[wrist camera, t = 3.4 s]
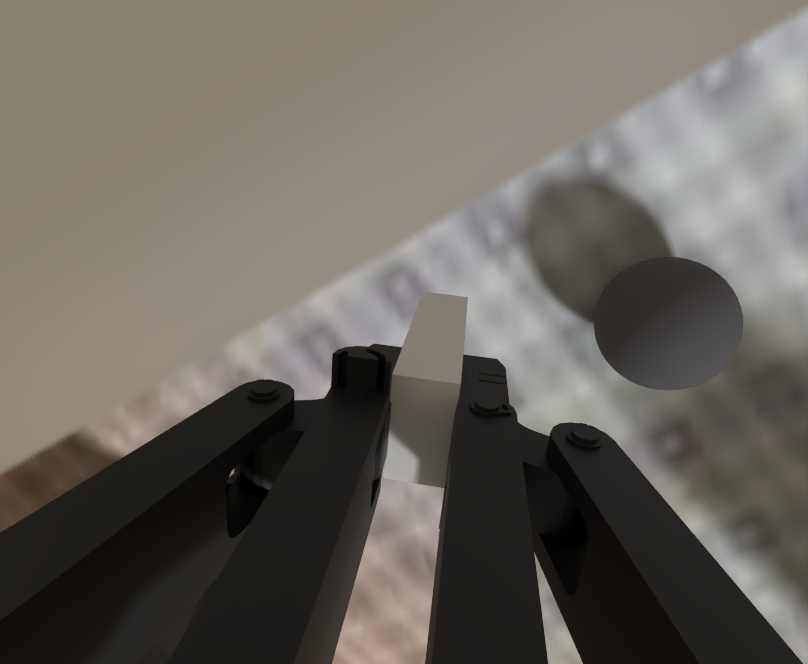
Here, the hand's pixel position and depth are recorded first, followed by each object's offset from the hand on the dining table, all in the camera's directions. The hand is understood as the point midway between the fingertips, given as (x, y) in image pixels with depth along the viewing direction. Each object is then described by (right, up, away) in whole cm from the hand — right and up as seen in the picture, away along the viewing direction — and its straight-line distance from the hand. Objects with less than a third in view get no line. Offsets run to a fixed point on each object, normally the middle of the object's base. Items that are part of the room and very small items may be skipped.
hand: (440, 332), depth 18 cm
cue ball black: (+10, 0, +4) cm, 10 cm away
